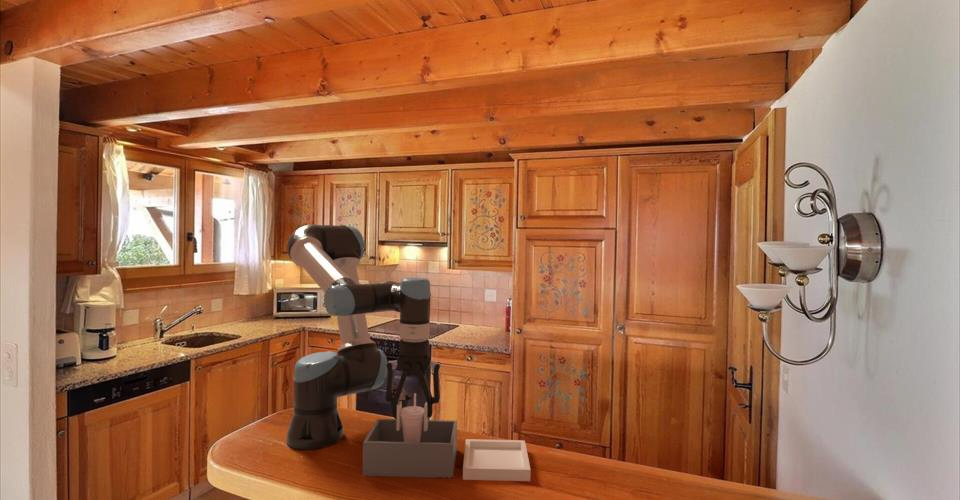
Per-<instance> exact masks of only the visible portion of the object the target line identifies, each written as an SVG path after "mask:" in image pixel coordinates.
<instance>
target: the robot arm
mask: <svg viewBox="0 0 960 500" xmlns="http://www.w3.org/2000/svg"><path fill="white" fill-rule="evenodd" d="M365 246H366V245H365V240H364V237H363V235H362V233H361V232H360V230H359V229H358V228H356V227H354V226H350V225H345V224H344V225H343V224H340V225H334V224H333V225H332V224H330V225H329V224H327V225H326V224H311V223H310V224H306V225H303V226H299V228H297V229H296V230H294V231H293V232H292V233H291V234H290V235H289V238H288V239H287V242H286V251H287V252H286V253H287V255H288V257H289V259H291V261H292V262H293V263H294V264H295V265H296V266H298V267H301V268H302V269H304V271H305V272H306V273H307V274H308V275H309V277H310V278H311V279H312V280H313V281H314V283H316V284H317V286H318V287H319V288H320V289H321V290H322V292H323V293H324V296H323V304H324V307H325V311H326V312H327V314H328V315H330V316H333V317H336V320H337V327H338V333H339V338H340V344H341V345H340V346H339V348H337V351H336V352H335V351H324V352H323V351H319V352H313V353H310V354H307V355H305V356H303V357H300V359H298V360H297V361H296V363H295V365H294V370H293V371H294V373H293V376H292V377H293V414H292V417H291V419H290V423H289V425H288V428H287V431H286V444H287V445H288V446H289V448H290V447H291V448H294V449H297V450H315V449H323V448H326V447H329V446H331V445H334V444H336V443H339V442H340V441H341V440H342V439H343V437H344V425H343V422H342V419H341V416H340V413H339V410H338V398H340V397H345V396H350V395H353V394H359V393H363V392H369V391H371V390H375V389H378V388H380V387H381V386H382V385H383V383H384V382H385V379H386V378H387V379H386V381H387V382H386V388H385V389H386V392H385V401H386V402H387V403H389V402H391V403H392V404H393V416H397V422H396V431H399V430H400V428H401V416H400V411H401V409H402V401H399V398H400V395H401V392H402V389H404V386H405V383H406V380H407V378H408V377H413V376H414V377H418V379H419V381H420V384H421V387H422V390H423V394H424V397H425V401H426V402H425V403H424V407H423V408H424V418H423V420H424V431H427V429H428V420H429V418H432V416H433V411H434V410H433V409H434V407H433V406H434V405H435V404H438V403H440V399H441V388H440V372H439V371H440V369H441V368H440V367H441V365H442V364H441V362H440V361H437V362H436V361H433V360H431V358H430V340H429V338H430V329H431V328H430V327H431V326H430V324H431V322H430V320H431V319H430V317H431V296H432V292H431V282H430V280H429V279H427V278H425V277H404V278H402V279H401V280H400V281H401V282H398V281H397V282H396V281H393V280H390V281H382V282H380V283H379V282H378V283H362V284H360V279H359V273H358V268H357V267H359V265H360V264H361V259H363V257H364V255H365V250H364V249H365ZM381 312H398V313H399V338H400V340H399V343H398V344H399V345H398V346H399V349H398V350H399V351H398V358H397V359H396V360H389V361H388V360H387V356H386V354H385V352H384V350H382V349H379V348H377V344H376V341H374V340H372V339H371V338H370V333H369V327H368V321H367V316H366V314H371V313H381ZM397 367H399V369H400V370H401V371H402V373H401V376H400V379H399V382H398V385H397V386H398V388H397V387H396V388H397V390H396V393H395V396H393V395H392V393H393V388H394V384H395V370H396V369H397ZM429 367H430V370H431V371H432V372H433V375H432V380H433V384H432V385H433V395H432V392H431V388H430V384H429V382H428V378H427V373H426V370H427V369H428V368H429ZM393 383H394V384H393ZM391 403H390V404H391ZM393 416H392V417H393Z"/></svg>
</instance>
